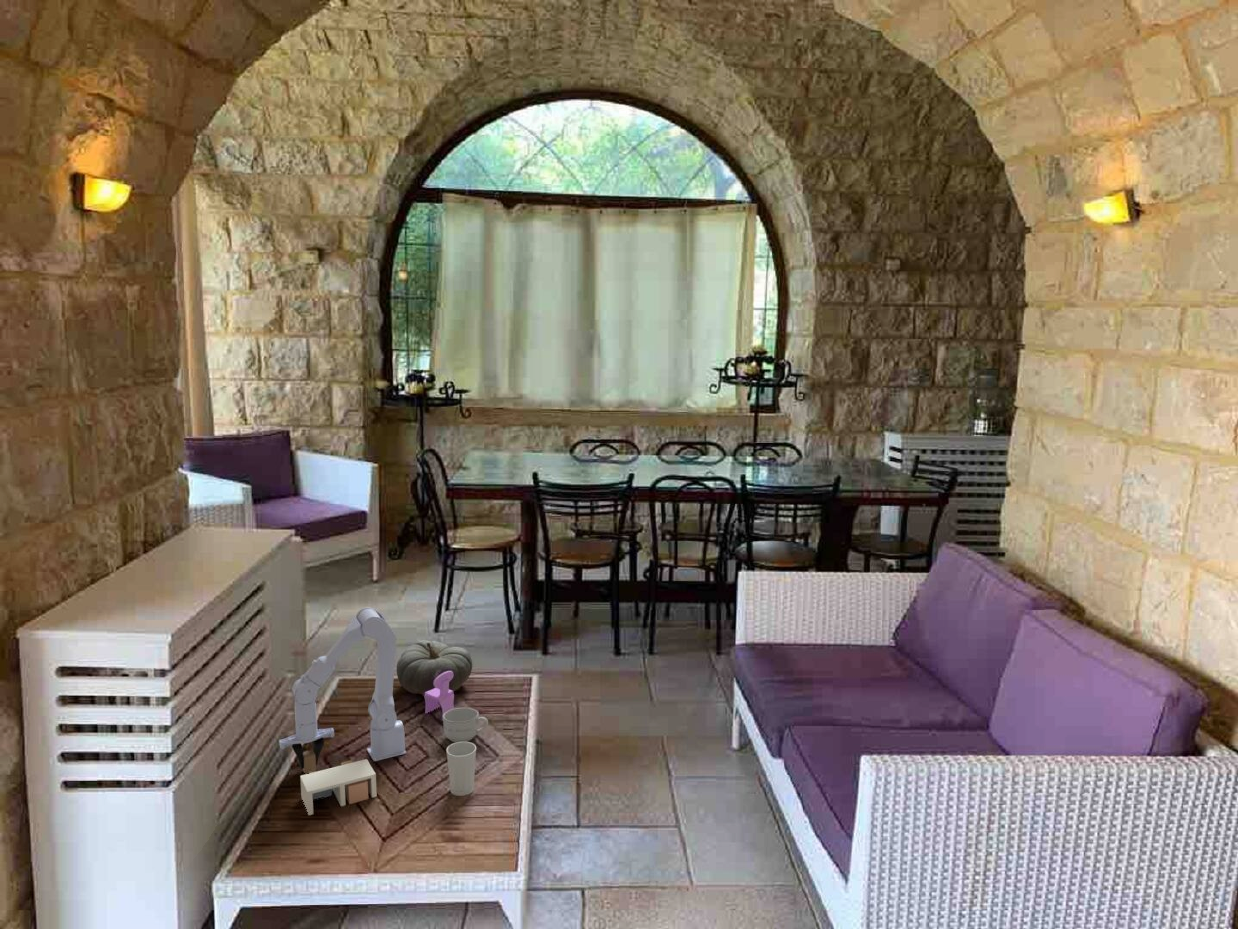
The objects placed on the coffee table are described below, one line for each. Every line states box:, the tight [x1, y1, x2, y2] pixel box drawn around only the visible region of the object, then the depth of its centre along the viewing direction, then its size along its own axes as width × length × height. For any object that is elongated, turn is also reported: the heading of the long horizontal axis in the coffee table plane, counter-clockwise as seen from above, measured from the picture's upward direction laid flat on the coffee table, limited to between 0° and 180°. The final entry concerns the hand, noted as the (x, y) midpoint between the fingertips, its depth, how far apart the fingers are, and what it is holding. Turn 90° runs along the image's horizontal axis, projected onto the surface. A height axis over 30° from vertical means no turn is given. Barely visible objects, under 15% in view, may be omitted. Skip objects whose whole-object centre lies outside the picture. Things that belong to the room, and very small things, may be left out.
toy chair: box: [423, 671, 455, 721], centre depth 278 cm, size 8×9×15 cm
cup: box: [445, 741, 477, 797], centre depth 234 cm, size 8×8×12 cm
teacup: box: [442, 707, 489, 743], centre depth 262 cm, size 14×11×8 cm
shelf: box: [299, 758, 378, 816], centre depth 230 cm, size 18×9×7 cm, turn 121°
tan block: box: [340, 759, 369, 805], centre depth 234 cm, size 5×12×6 cm, turn 31°
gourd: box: [396, 639, 473, 697], centre depth 296 cm, size 25×25×17 cm
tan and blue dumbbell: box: [302, 749, 333, 800], centre depth 237 cm, size 5×17×6 cm, turn 31°
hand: (308, 765), depth 244 cm, fingers closed on tan and blue dumbbell, 3 cm apart
